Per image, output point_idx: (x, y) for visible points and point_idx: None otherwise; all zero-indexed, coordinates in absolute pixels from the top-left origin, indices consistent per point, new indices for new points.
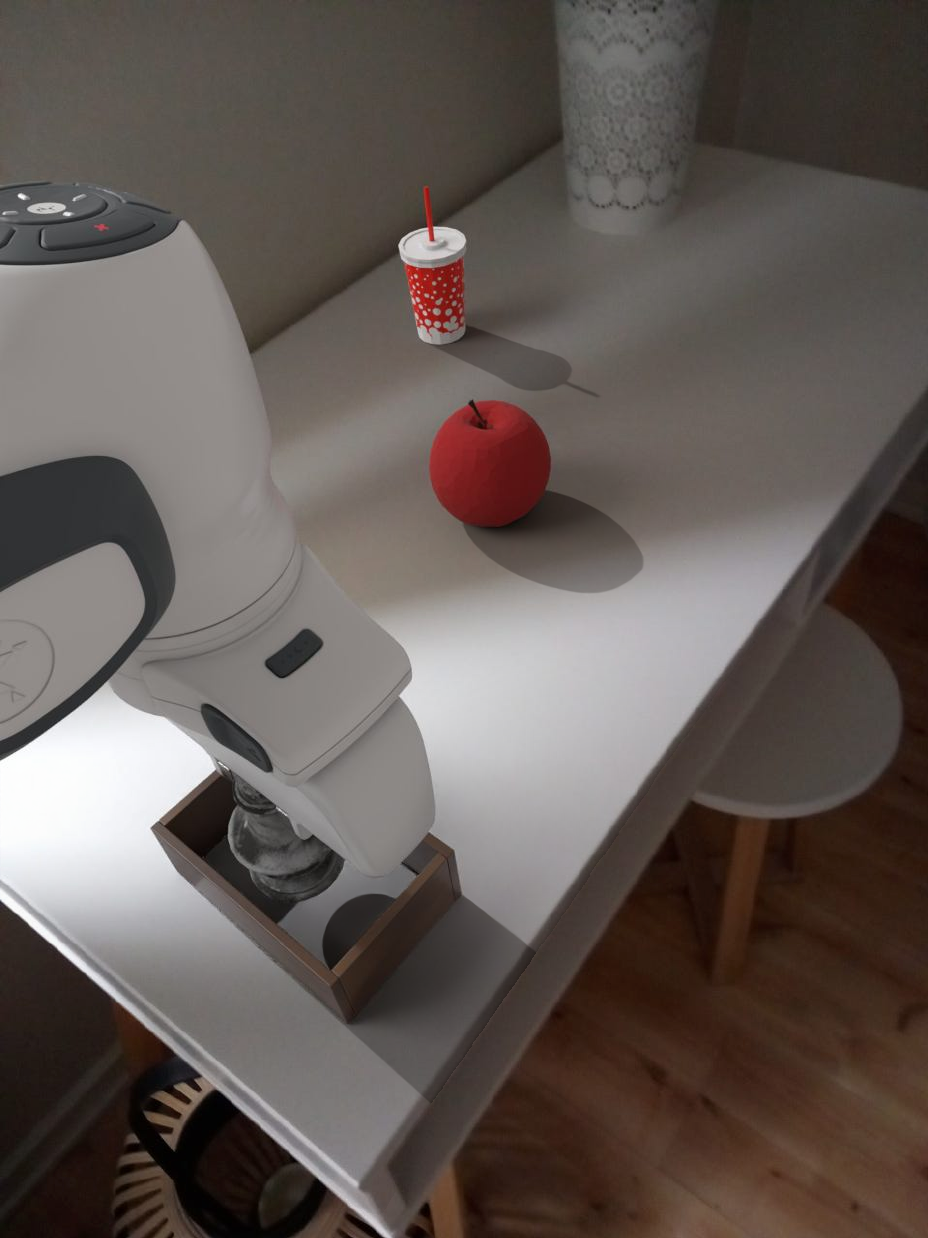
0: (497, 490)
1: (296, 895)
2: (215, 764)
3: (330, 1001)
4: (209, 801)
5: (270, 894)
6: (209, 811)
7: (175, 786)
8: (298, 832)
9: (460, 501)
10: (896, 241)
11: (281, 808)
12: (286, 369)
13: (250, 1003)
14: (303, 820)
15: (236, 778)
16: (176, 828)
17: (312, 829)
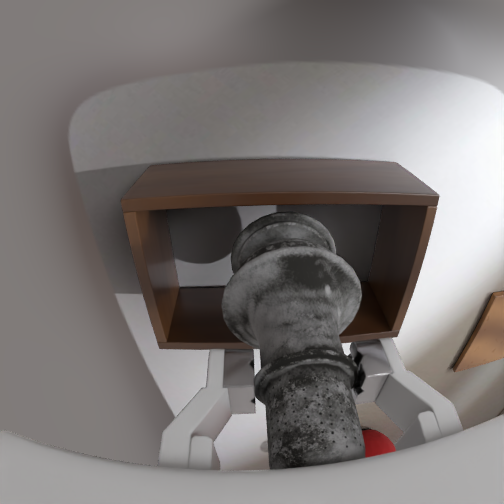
0: None
1: (249, 233)
2: (395, 358)
3: (153, 175)
4: (406, 246)
5: (274, 217)
6: (402, 234)
7: (446, 218)
8: (211, 364)
9: (366, 452)
10: None
11: (148, 484)
12: (493, 407)
13: (236, 115)
14: (84, 494)
15: (322, 416)
16: (417, 207)
17: (68, 482)
